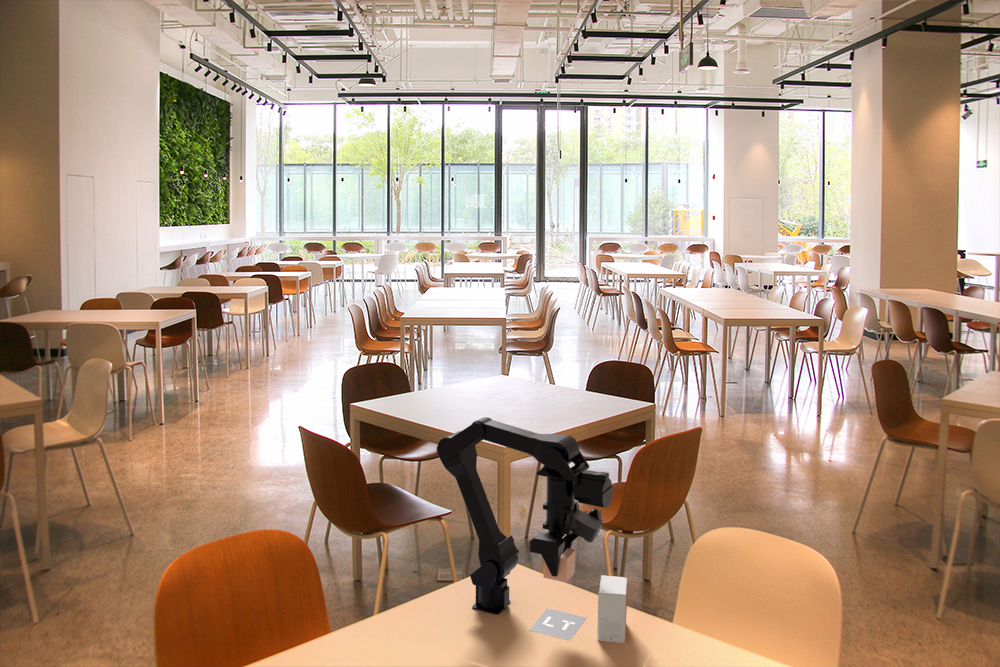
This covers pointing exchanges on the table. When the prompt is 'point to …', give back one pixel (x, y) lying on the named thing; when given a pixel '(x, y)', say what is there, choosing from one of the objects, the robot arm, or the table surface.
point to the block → (563, 567)
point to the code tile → (558, 624)
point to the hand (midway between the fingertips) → (559, 570)
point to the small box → (612, 609)
